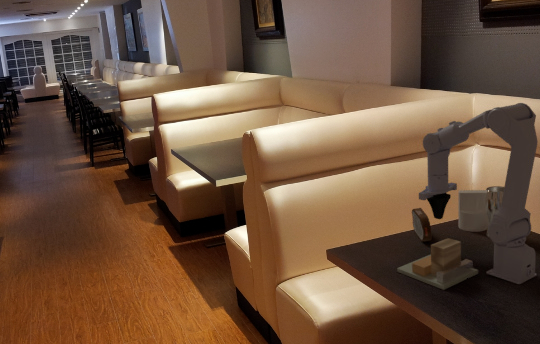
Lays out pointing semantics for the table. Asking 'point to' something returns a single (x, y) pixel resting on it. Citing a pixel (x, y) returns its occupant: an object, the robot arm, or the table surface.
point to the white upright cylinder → (472, 210)
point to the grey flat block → (443, 274)
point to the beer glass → (493, 201)
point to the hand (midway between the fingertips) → (438, 218)
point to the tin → (421, 224)
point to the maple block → (445, 254)
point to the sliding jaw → (422, 266)
